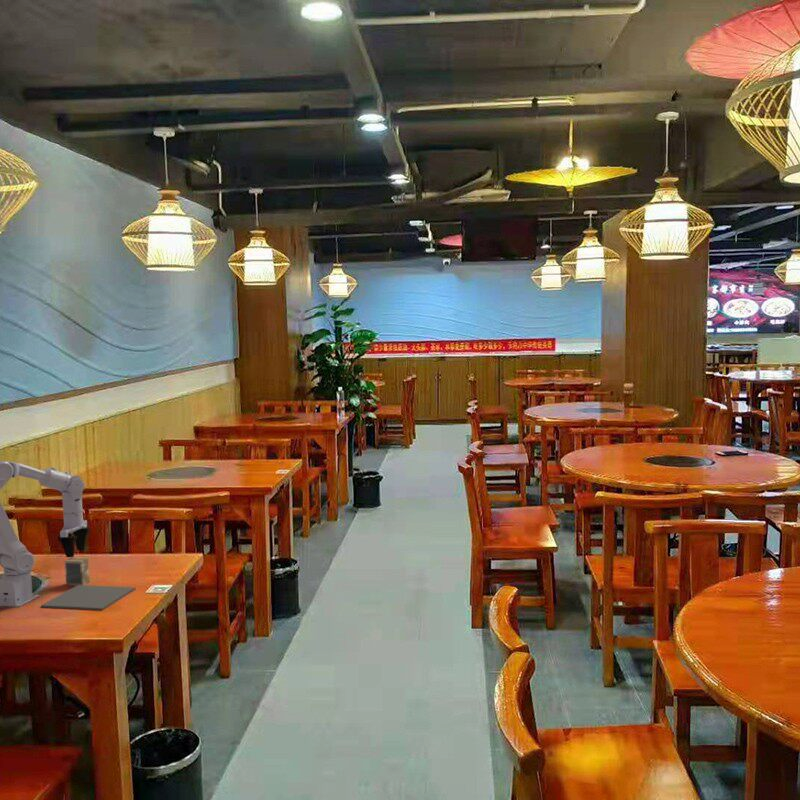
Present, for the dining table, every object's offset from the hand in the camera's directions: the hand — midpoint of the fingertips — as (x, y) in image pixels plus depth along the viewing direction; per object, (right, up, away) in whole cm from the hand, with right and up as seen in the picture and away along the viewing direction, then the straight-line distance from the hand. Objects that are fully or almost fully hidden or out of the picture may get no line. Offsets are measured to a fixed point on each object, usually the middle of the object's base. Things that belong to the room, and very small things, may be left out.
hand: (75, 553), depth 244 cm
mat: (+11, -10, -15) cm, 21 cm away
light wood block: (+1, -10, -1) cm, 10 cm away
